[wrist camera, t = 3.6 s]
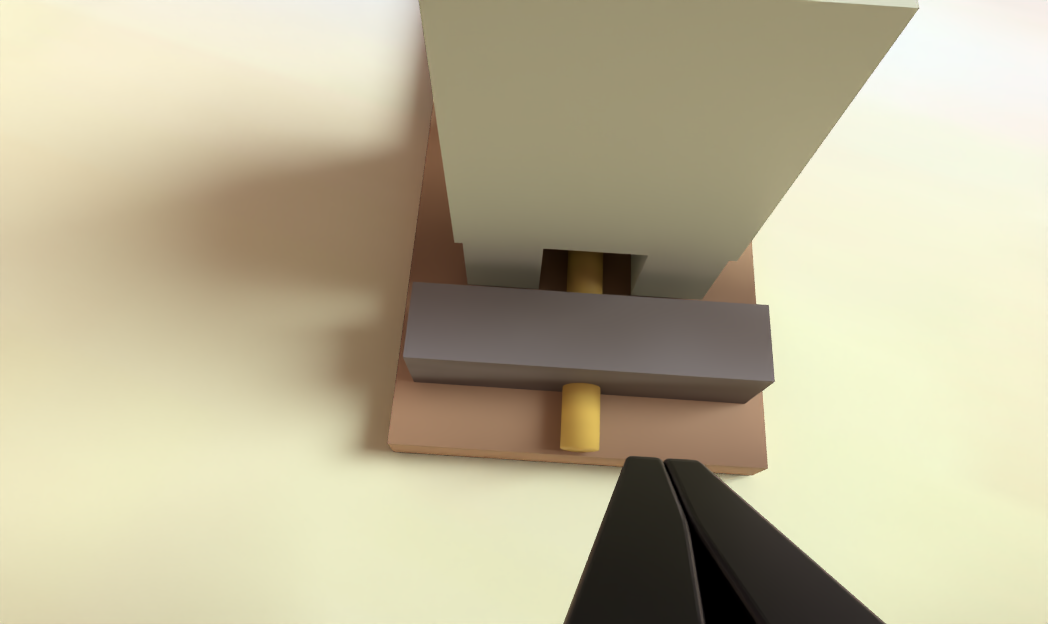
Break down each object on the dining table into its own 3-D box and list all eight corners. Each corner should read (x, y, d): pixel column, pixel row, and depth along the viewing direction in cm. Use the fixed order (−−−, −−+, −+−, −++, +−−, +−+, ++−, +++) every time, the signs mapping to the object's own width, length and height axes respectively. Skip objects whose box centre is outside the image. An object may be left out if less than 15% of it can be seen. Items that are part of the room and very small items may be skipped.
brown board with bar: (752, 474, 19) (845, 434, 14) (393, 451, 19) (352, 401, 14) (716, -94, 27) (766, -253, 22) (467, -110, 27) (458, -273, 22)
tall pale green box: (708, 300, 19) (919, 8, 9) (460, 283, 19) (414, -26, 9) (701, 124, 21) (865, -260, 12) (478, 109, 21) (457, -287, 12)
